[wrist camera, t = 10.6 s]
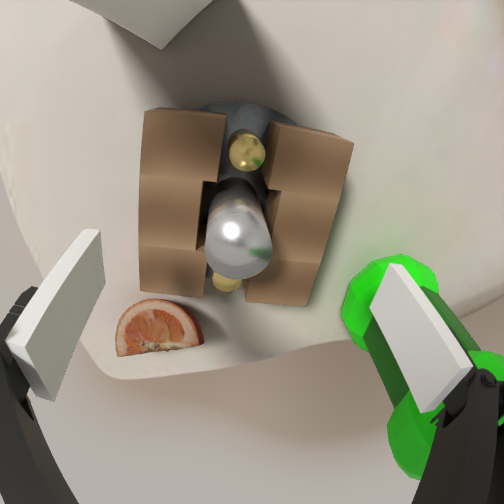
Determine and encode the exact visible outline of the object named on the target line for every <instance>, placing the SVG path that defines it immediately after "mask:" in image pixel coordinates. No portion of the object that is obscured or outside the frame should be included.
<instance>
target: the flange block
mask: <svg viewBox="0 0 504 504" xmlns="http://www.w3.org/2000/svg"><path fill="white" fill-rule="evenodd" d="M225 122H226V114H225V113H217V112H208V111H198V110H187V109H174V108H156V109H152V110H148V111H145V113H144V123H143V134H142V146H141V161H140V180H139V275H140V291H144V292H152V293H161V294H170V295H179V296H188V297H198V298H203V295H204V285H205V275H206V266H207V260H206V257H205V241H206V232H207V225H202V224H200V216H201V207H202V198H203V189H204V181H211V182H217V176H218V169H219V161H220V155H221V148H222V141H223V135H224V128H225ZM353 147H354V143H353V142H351V141H348V140H346V139H344V138H342V137H340V136H337V135H335V134H333V133H329V132H325V131H321V130H316V129H312V128H307V127H302V126H298V125H293V124H287V123H282V122H277V121H271V120H270V125H269V130H268V136H267V141H266V146H265V159H264V162H263V163H262V167H261V173H262V175H263V178H264V180H265V182H266V184H267V187H268V189H269V190H268V195H267V200H266V205H265V210H264V218H265V222H266V225H267V228H268V232H269V235H270V238H271V242H272V247H273V252H272V257H271V259H270V262H269V263H268V265H267V266H266V267H265V269H264V270H262V271H261V272H260V273H259V274H257V275H255V276H253V277H250V278H247V279H243V280H244V290H245V299H246V302H254V303H268V304H282V305H298V306H306V305H307V302H308V299H309V296H310V293H311V290H312V287H313V284H314V281H315V278H316V275H317V272H318V269H319V266H320V263H321V260H322V257H323V253H324V250H325V247H326V244H327V240H328V237H329V234H330V231H331V227H332V224H333V220H334V217H335V214H336V210H337V207H338V203H339V200H340V196H341V192H342V189H343V185H344V181H345V178H346V174H347V170H348V166H349V162H350V159H351V155H352V151H353Z"/></svg>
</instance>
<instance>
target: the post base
mask: <svg viewBox="0 0 504 504" xmlns="http://www.w3.org/2000/svg"><path fill="white" fill-rule="evenodd" d="M197 110H198V111H208V112H217V113H225V114H226V122H225V128H224V135H223V141H222V148H221V155H220V161H219V169H218V176H217V182H211V181H204V189H203V198H202V207H201V216H200V224H202V225H207V232H206V241H205V257H206V260H207V266H206V275H205V276H206V277H210V278H212V282H213V284H214V286H215V287H216V288H217V289H218V290H220V291H224V292H230V291H234V290H236V289H237V288H239V287H240V285H241V283H242V279H247V278H250V277H253V276H255V275H257V274H259V273H260V272H261V271H262V270H264V269H265V267H266V266H267V265H268V263H269V262H270V259H271V257H272V252H273V247H272V242H271V238H270V235H269V232H268V228H267V225H266V222H265V218H264V210H265V205H266V200H267V195H268V190H269V189H268V187H267V184H266V182H265V180H264V178H263V175H262V173H261V167H262V163H263V162H264V159H265V146H266V141H267V136H268V130H269V125H270V120H271V121H277V122H282V123H287V124H293V125H297V124H295V123H294V122H293V121H292V120H290V119H289V118H287V117H286V116H284V115H282V114H280V113H278V112H276V111H274V110H271V109H269V108H266V107H263V106H260V105H256V104H251V103H245V102H223V103H217V104H212V105H208V106H205V107H203V108H200V109H197Z"/></svg>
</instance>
